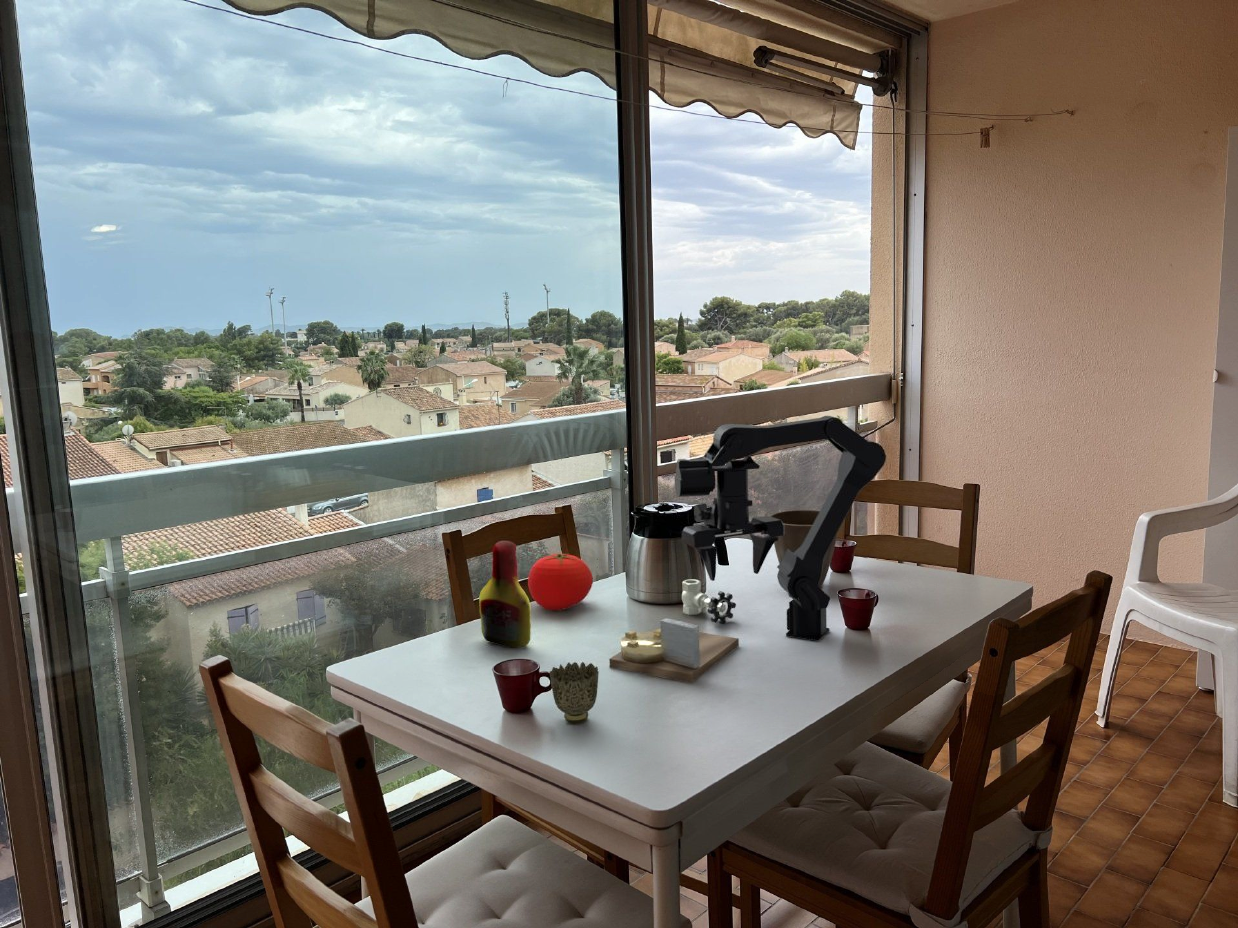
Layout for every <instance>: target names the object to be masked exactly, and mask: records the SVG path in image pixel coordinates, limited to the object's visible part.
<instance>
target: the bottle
mask: <svg viewBox="0 0 1238 928" xmlns="http://www.w3.org/2000/svg"><path fill="white" fill-rule="evenodd" d="M491 554H492V572H491V578H490V579H489V581H488V582H487V583H486V585H484V586H483V588H481V591H480V593H479V596H478V600H479V601H478V602H479V603H478V605H479V616H480V624H481V628H480V629H481V633H482V636H483V638H484V640H485V641H486V642H488V643H492V644H496V645H499V646H503V647H506V648H512V649H517V648H522V647H525V646H527V645H529V643H530V642H531V634H532V633H531V631H532V630H531V629H532V624H531V619H532V617H531V613H532V610H531V603H530V599H529V597H528V595H527V594H526V592H525V591H524V589H523V587H522V586H521V585H520V583H519V573H518V558H517V544H516V543H514V542H512V541H510V540H500V541H497V542H496V543H495V544H494V545H493V548H492V553H491Z"/></svg>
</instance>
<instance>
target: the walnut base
mask: <svg viewBox="0 0 1238 928" xmlns="http://www.w3.org/2000/svg"><path fill="white" fill-rule="evenodd" d="M657 629H661V626H660V627H658V628H657ZM654 631H655V630H653V631H652V632H654ZM739 646H740V640H739V638H738V637H732V636H724V635H719V634H714V633H709V632H708V633H707V632H702V631H701V632H700V631H699V650H700V666H698V667H696V668H690V667H687V666H683V665H680V664H676V663H672V662H669V661H665V660H662V661H658V662H651V663H639V662H632V661H629V660H626V659H625V658H623V657H622V655H621V651H620V652H618V653H617V654H614V655H613V656H612V657H610V658H609V662H608V663H609V668H613V669H618V670H624V671H628V672H633V673H639V674H644V675H649V676H654V677H660V678H663V679H670V680H674V681H678V682H679V681H681V682H685V683H689V684H692V683H694V681H695V680H697V679H699V678H700V677H701V676H702V675H703V674H705V673H706V672H707V671H708V670H710V669H712V667H714V666H715V665H716V664H718V663H719V662H720V661H722V660H723V659H724V658H726V657H727V656H728V655H730V653H732V652H734V651H735V650H736V649H737V648H739Z"/></svg>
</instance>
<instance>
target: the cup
mask: <svg viewBox="0 0 1238 928" xmlns="http://www.w3.org/2000/svg"><path fill="white" fill-rule="evenodd" d="M599 672H600V671H599V668H598V666H597V665H596V666H595V665H594V664H593V663H592V662H590V663H589V664H587V665H586V663H585V662H583V661H582V662H581V663H580V666H579V663H577V662H576V661H574V662H572V663H570V662H568V663H566V665H565V667H564V666H563V665H562V664H560V665H559V667H556V666H555V667H554V666H553V667H552V669H551V670H549V677H550V679H549V680H550V684H551V689H552V691H551V692H552V695H553V699H554V704H555V705H556V707H557V709H559V711H561V712H562V713H563V717H564V720H565V722H567V723H569V724H573V725H574V724H575V725H578V724H583V723H585V722H587V720H588V719H589V718H588V717H589V711H591V710H592V708H593V707H594V706H595V704H596V701H597V696H598V689H599V687H598V686H599Z"/></svg>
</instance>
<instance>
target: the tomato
mask: <svg viewBox="0 0 1238 928" xmlns="http://www.w3.org/2000/svg"><path fill="white" fill-rule="evenodd" d="M593 580H594V578H593V574H592V572H591V570H590V567H589V566H588V565H587V564H586V562H585V561H584V560H582V559H580V558H579V557H577V556H575V555H572V554H570V553H569V552H568V553H553V554H549V555H546V556H544V557H542V558H540V559H538V560H537V561H536V562H535V563H534V564H533V565H532V567H531V569H530V570H529V574H528V578H527V585H528V589H529V594H530V595H531V597H532V599H533V600H534V601H535V602H536V604H538V605H539V606H540V607H541V608H543V609H545V610H548V611H562V610H566V609H569V608H572V607H574V606H576V605H578V604H580V603H581V602H582V601H583V600H584V599H585V598H586V597H587V596H588V595H589V593H590V591H591V589H592V586H593V582H594V581H593Z"/></svg>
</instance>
